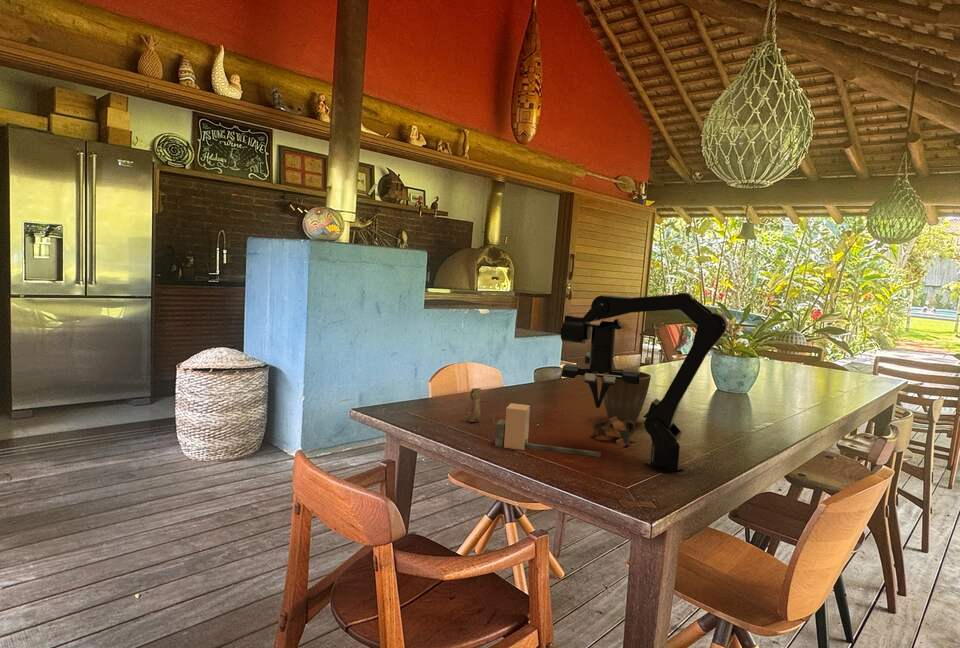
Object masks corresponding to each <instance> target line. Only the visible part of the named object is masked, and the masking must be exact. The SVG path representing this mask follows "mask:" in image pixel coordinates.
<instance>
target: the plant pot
mask: <svg viewBox="0 0 960 648" xmlns="http://www.w3.org/2000/svg"><path fill="white" fill-rule="evenodd" d="M612 371H619V372H623V369H620V368H619V369H618V368H617V369H615V368H613V370H612ZM638 372H639V374H640V377H639V384H629V383H625V382H624V381H623V379H615V385H610V387H609V388H608V390H607V392H606V394H605V396H604V398H603V403H604V408H605V412H606V416H607V419H610V418H613V417H617V418H618V420H619V421H621V422H623V421H626V420H631V421H632V422H633V423H634V424H635V425H636V423H637V420H638V418H639V417H640V414H641V411H642V409H643V407H644V404H645V402H646V397H647V395H648V392H649V387H650V383H651V379H652V378H651V376H652V375H651V374H648V373H646V372H643V371H638ZM603 378H604V377H600V380H601V384H602V383H603ZM626 428H627V429H629V425H627V427H626Z"/></svg>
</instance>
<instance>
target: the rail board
mask: <svg viewBox="0 0 960 648" xmlns="http://www.w3.org/2000/svg"><path fill="white" fill-rule="evenodd" d="M505 421H506V419H502V418H501V419H499V420H498V421H497V423H495V424H496V425H495V439H494V447H501V448H504V438H505ZM526 448H527V449H535V450H542V451H543V450H544V451H550V452H558V453H566V454H567V453H568V454H574V455H583V456H590V457H598V458H601V456H602V452H601V451H595V450H594V451H593V450H586V449H577V448H571V447H562V446H556V445H555V446H553V445H546V444H538V443H525V449H526Z"/></svg>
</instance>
